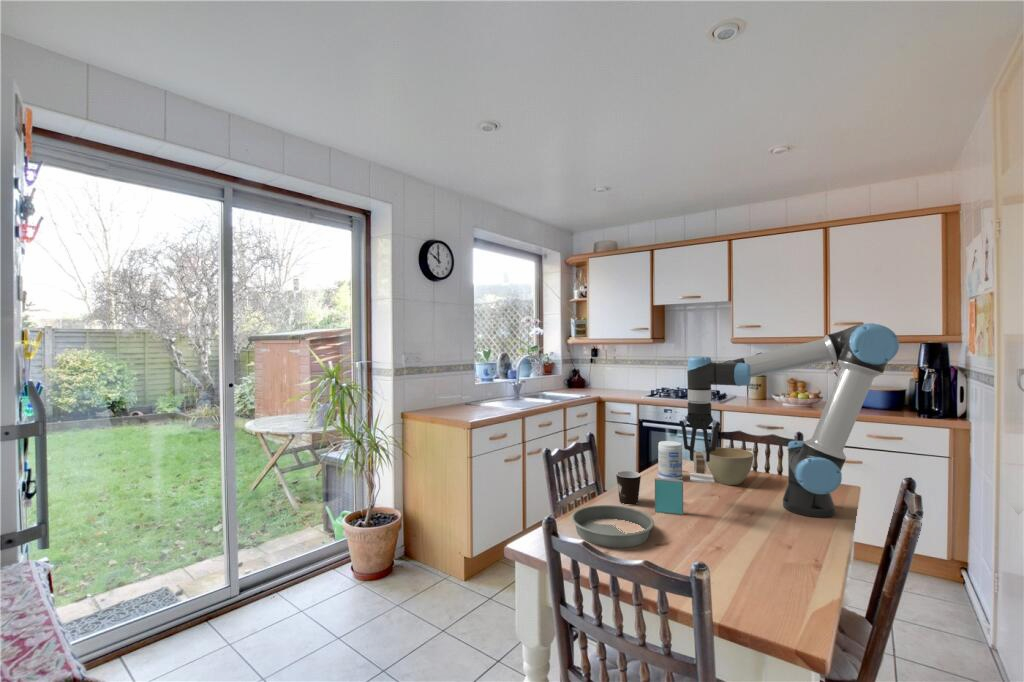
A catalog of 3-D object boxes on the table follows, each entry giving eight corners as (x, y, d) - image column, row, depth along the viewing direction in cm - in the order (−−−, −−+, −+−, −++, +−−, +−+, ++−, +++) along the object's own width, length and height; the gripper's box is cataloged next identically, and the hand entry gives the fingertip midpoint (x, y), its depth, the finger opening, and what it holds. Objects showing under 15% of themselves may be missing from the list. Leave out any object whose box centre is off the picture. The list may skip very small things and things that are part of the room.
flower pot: (738, 475, 203) (738, 446, 203) (763, 488, 185) (762, 457, 185) (697, 476, 202) (696, 447, 202) (717, 489, 184) (717, 458, 184)
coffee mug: (641, 506, 167) (641, 478, 167) (616, 505, 168) (616, 477, 168) (639, 496, 178) (639, 469, 178) (616, 494, 180) (615, 468, 180)
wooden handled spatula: (687, 465, 172) (687, 451, 172) (708, 466, 170) (708, 452, 170) (690, 481, 153) (690, 465, 153) (714, 483, 151) (714, 467, 151)
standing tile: (655, 510, 164) (654, 477, 163) (683, 512, 161) (682, 480, 161) (654, 512, 161) (654, 479, 161) (683, 515, 159) (683, 482, 159)
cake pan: (669, 532, 145) (669, 517, 145) (624, 559, 128) (624, 542, 128) (602, 512, 163) (601, 498, 163) (554, 533, 146) (554, 518, 146)
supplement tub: (672, 483, 193) (672, 446, 193) (653, 477, 201) (653, 442, 201) (687, 478, 199) (686, 443, 199) (667, 473, 207) (667, 439, 207)
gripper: (722, 401, 165) (723, 469, 165) (674, 399, 169) (675, 466, 169) (725, 404, 157) (725, 475, 158) (675, 402, 162) (675, 471, 162)
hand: (699, 470), depth 163 cm, fingers closed on wooden handled spatula, 2 cm apart
